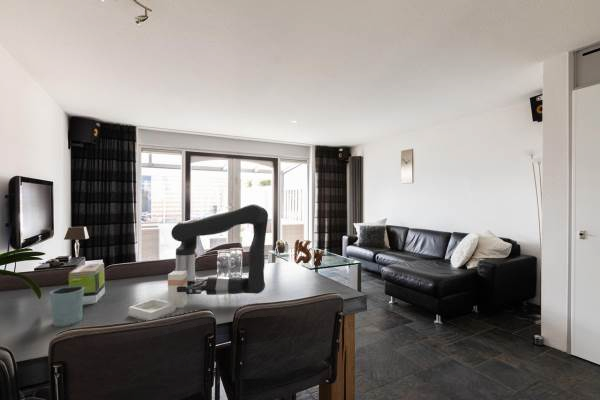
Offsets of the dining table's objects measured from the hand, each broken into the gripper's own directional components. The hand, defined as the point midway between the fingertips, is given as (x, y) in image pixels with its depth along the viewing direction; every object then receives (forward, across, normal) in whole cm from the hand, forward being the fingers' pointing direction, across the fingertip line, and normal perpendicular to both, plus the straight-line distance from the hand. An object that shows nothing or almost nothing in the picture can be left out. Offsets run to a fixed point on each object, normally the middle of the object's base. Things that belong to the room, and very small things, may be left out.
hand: (180, 286), depth 127 cm
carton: (+1, 0, +8) cm, 8 cm away
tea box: (+44, -9, +8) cm, 46 cm away
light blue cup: (+36, +15, +8) cm, 40 cm away
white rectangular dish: (+8, +10, +8) cm, 15 cm away
